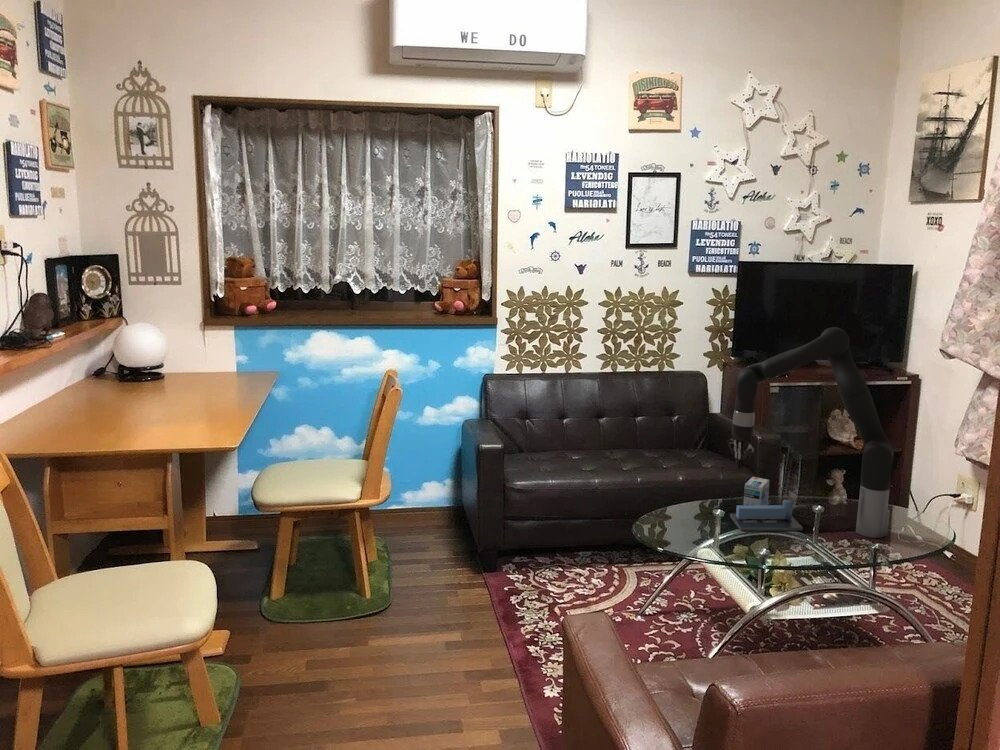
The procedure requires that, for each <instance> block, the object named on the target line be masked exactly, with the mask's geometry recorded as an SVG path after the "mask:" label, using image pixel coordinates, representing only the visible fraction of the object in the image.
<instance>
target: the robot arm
mask: <svg viewBox="0 0 1000 750" xmlns="http://www.w3.org/2000/svg"><path fill="white" fill-rule="evenodd" d="M823 358H827V360H828V362H829V364H830V366H831V368H832V371H833V375H834V379H835V384H836V386H837V389H838V392H839V396H840V398H841V401H842V405H843V407H844V408H845V411H846V412H847V415H849V417H850V419H851V420H852V421H853V423H854V425H855V426H856V428H857V429H858V433H859V434H860V437H861V440H862V444H863V447H864V448H863V449H864V451H863V453H862V459H861V470H860V488H859V498H858V505H857V516H856V525H855V526H856V527H855V532H856V533H857V534H859V535H861V536H863V537H866V538H871V539H872V538H873V539H878V538H879V539H880V538H883V537H887V536H888V533H889V520H890V514H891V511H890V509H889V497H890V488H891V476H892V468H893V460H894V455H895V451H894V448H893V446H892V444H891V442H890V440H889V438H888V437H887V434H886V433H885V431H884V429H883V426H882V425H881V422H880V419H879V415H878V412H877V409H876V406H875V403H874V400H873V397H872V394H871V391H870V390H869V387H868V385H867V383H866V381H865V380H866V379H864V376H863V375H862V373H861V371H860V370H859V368H858V367H857V365H856V363H855V361H854V357H853V355H852V352H851V349H850V336H849V335H848V333H847V332H846V331H845V330H844V329H843V328H840V327H836V326H832V327H830V326H829V327H828V328H826V329H824V330H823V331H822V332H821V334H820V336H818V337H817V338H815V339H813V340H812V341H810V342H807V343H806V344H804V345H801V346H798V347H796V348H792V349H789V350H786V351H784V352H781V353H779V354H776V355H774V356H772V357H770V358H767V359H764V361H760V362H756V363H753V364H749V365H747V366H745V367H743V368H741V369H740V370H739V371H738V373H737V376H736V379H737V385H736V386H737V387H736V397H735V402H734V411H733V415H732V425H731V426H732V427H731V435H732V436H731V438H730V439H727V440H726V442H727V444H728V447H729V450H730V453H731V455H732V456H734V458H735V459H734V460H735V462H734V467H735V468H736V469H738V470H741V469H743V468H744V464H745V460H748V459H749V458H750V457H751V456H752V455H753V454H754V453H755V452H756V450H757V449H756V447H753V445H752V437H753V436H754V431H755V430H754V429H755V428H754V427H755V417H756V416H755V414H756V398H757V397H756V396H757V391H758V385H759V383H760V382H761V381H765V380H767V379H768V380H769V379H770V380H772V379H776V378H777V377H780V376H782V375H785V374H786V373H789V372H791V371H793V370H795V369H797V368H799V367H802V366H804V365H806V364H808V363H811V362H814V361H817V360H819V359H823Z"/></svg>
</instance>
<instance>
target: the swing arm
mask: <svg viewBox="0 0 1000 750" xmlns="http://www.w3.org/2000/svg"><path fill="white" fill-rule="evenodd" d="M793 506H794V502H793V501H792V500H790V499H783V500H782V504H781V505H780V504H779V505H777V504H774V505H772V504H771V505H770V504H768V505H744V504H743V505H741V504H740V505H739V504H738V505H736V511H735V514H736V516H737V518H738V519H792V517H793V508H794V507H793Z"/></svg>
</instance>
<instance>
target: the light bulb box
mask: <svg viewBox="0 0 1000 750" xmlns="http://www.w3.org/2000/svg"><path fill="white" fill-rule="evenodd" d="M743 493H744V494H743V505H769V493H770V479H767V478H761V477H756V476H752V477H751V478H750V479H749V480H748V481H747V482H745V484H744V492H743Z"/></svg>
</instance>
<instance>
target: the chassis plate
mask: <svg viewBox="0 0 1000 750" xmlns="http://www.w3.org/2000/svg"><path fill="white" fill-rule="evenodd" d="M729 518H731V520H732V522H734V525H736V527H737V528H738V529H739V531H740V530H747V532H751V531H752V532H758V531H759V532H771V531H773V532H774V531H775V532H789V531H790V532H794V531H795V532H796V531H797V532H798V531H799V532H803V530H804V527H803V525H801V524H800V523H799V521H797V519H795V518H794V517H793V516H792V519H738V518H737V516H736V513H730V514H729Z"/></svg>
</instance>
